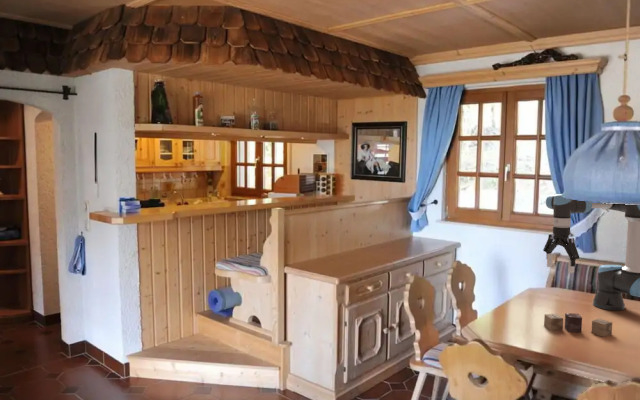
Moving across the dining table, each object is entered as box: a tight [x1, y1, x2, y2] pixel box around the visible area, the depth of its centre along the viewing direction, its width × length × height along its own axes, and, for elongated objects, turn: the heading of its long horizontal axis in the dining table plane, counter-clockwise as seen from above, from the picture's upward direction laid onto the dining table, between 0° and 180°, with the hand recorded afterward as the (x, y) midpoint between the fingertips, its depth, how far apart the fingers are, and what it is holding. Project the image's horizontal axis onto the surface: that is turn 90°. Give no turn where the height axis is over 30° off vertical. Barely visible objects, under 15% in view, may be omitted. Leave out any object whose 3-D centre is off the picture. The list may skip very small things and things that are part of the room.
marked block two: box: [543, 313, 564, 331], centre depth 238 cm, size 6×6×6 cm
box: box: [564, 312, 583, 333], centre depth 235 cm, size 6×6×7 cm
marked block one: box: [591, 318, 613, 338], centre depth 231 cm, size 6×6×6 cm
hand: (560, 269), depth 239 cm, fingers open, 13 cm apart
